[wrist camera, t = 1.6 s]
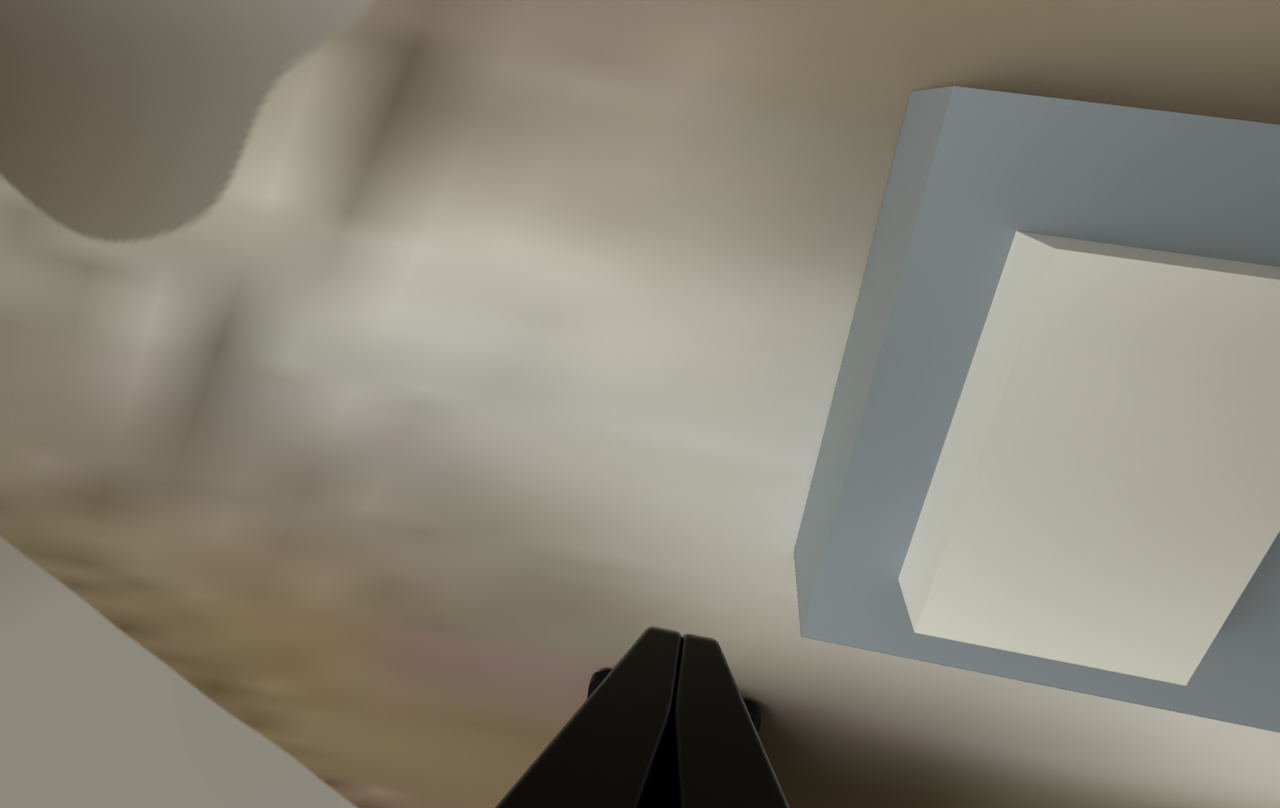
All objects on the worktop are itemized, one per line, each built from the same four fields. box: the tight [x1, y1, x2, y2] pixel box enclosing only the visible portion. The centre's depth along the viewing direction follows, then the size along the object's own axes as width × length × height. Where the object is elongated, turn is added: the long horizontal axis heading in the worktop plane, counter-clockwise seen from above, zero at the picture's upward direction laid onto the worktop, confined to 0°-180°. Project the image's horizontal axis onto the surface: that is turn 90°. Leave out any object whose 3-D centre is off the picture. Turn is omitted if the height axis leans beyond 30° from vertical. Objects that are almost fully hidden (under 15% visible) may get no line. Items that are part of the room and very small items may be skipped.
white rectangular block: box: [898, 231, 1280, 686], centre depth 15 cm, size 9×6×2 cm, turn 173°
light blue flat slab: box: [794, 86, 1280, 732], centre depth 17 cm, size 14×14×4 cm
